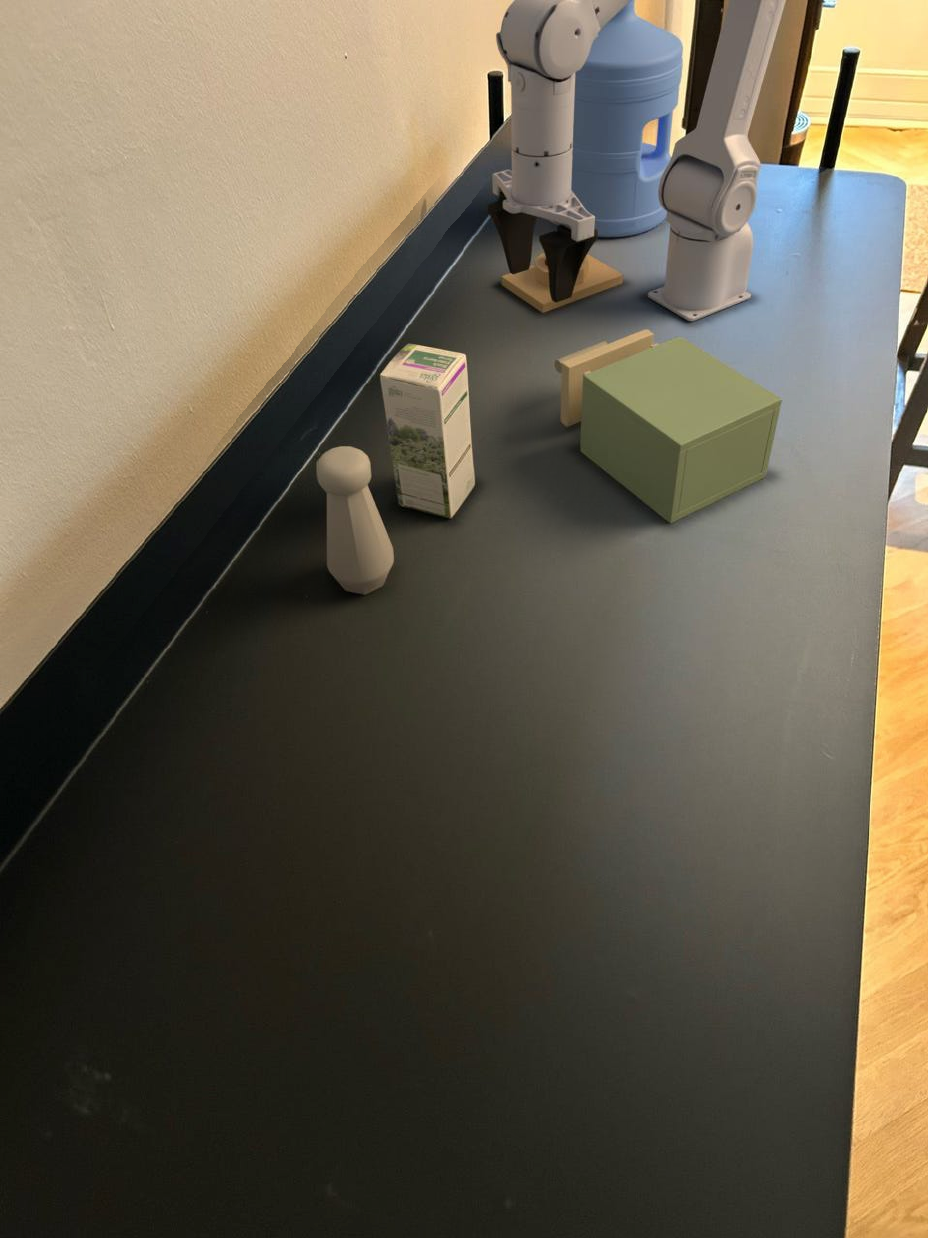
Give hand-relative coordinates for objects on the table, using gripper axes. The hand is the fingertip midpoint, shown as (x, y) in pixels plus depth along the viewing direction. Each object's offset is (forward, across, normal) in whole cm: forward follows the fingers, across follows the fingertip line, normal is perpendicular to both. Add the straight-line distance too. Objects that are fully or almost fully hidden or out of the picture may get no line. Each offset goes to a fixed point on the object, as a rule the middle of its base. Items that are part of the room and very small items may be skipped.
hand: (540, 284), depth 98 cm
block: (+9, -14, +13) cm, 21 cm away
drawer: (+9, +15, 0) cm, 17 cm away
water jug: (+9, -26, +30) cm, 41 cm away
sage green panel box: (+10, +22, 0) cm, 24 cm away
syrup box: (+10, +13, -21) cm, 27 cm away
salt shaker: (+10, +19, -32) cm, 38 cm away
